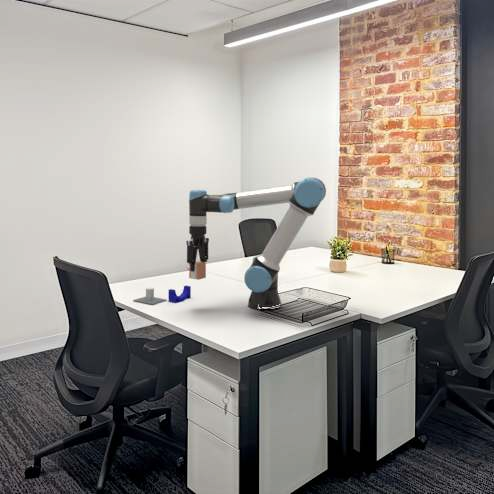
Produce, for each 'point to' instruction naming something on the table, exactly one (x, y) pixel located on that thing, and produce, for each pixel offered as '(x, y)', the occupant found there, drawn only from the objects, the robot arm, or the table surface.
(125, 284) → the table surface
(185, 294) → the blue arch bracket
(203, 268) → the peach clay cube
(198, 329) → the table surface
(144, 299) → the stand
